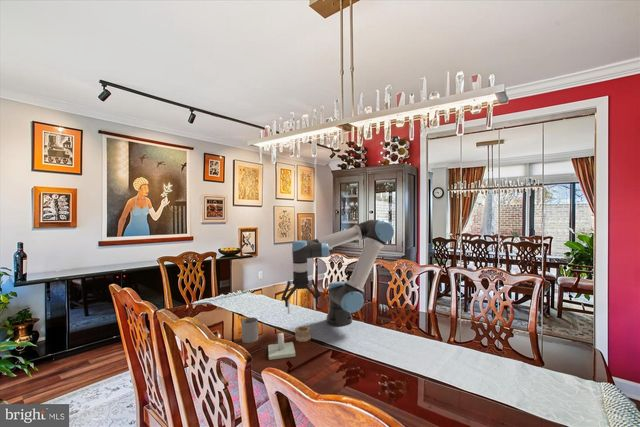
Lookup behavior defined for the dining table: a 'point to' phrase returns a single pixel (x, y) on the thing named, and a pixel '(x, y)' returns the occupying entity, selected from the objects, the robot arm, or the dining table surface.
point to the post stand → (281, 349)
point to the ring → (303, 333)
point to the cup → (249, 330)
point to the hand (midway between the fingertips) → (301, 311)
